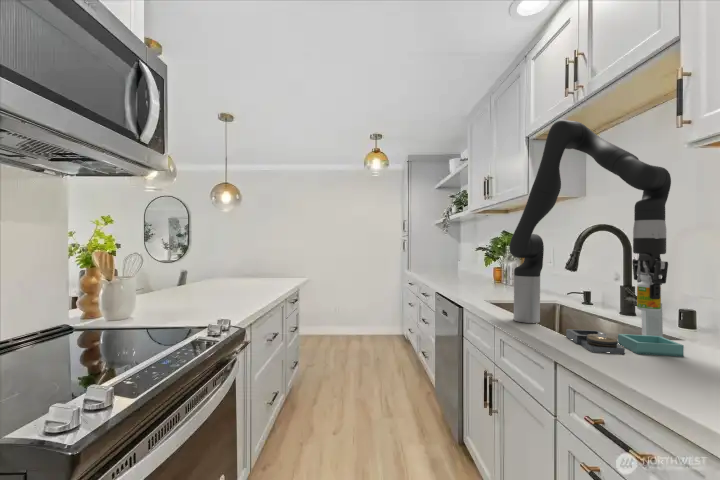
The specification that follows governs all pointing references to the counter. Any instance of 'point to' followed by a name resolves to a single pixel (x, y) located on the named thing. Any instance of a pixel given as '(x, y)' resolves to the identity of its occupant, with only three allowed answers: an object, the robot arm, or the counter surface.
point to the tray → (651, 345)
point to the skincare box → (652, 323)
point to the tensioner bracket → (595, 341)
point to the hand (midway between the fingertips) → (648, 297)
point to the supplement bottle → (646, 296)
